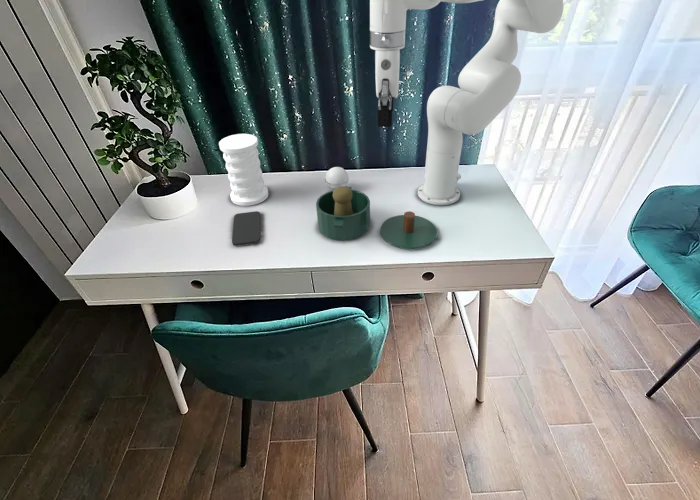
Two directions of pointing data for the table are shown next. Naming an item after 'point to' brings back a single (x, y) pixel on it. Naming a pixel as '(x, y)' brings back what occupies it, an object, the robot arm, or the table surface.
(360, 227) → the pot
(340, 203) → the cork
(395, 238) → the lid
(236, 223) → the phone
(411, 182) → the table surface
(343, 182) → the white rounded upright piece
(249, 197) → the decorative container
